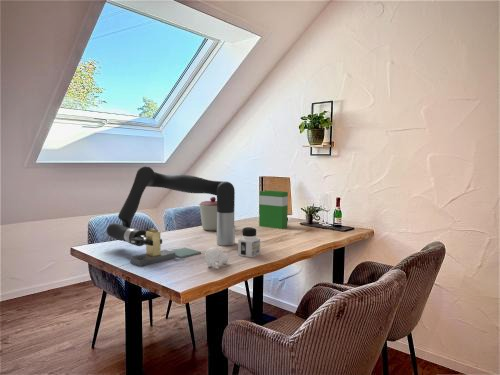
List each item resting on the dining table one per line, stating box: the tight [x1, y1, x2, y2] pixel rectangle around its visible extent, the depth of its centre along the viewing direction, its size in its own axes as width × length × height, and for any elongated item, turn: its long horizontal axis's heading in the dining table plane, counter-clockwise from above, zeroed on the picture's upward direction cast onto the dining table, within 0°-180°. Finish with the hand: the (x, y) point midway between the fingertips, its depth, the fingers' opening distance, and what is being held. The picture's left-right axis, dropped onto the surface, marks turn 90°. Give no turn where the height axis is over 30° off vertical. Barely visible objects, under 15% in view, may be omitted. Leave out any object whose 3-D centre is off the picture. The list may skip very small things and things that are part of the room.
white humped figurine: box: [204, 246, 230, 270], centre depth 153 cm, size 6×8×12 cm
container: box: [237, 226, 261, 258], centre depth 171 cm, size 8×8×13 cm
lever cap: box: [145, 227, 162, 257], centre depth 160 cm, size 4×5×14 cm
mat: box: [170, 247, 202, 259], centre depth 173 cm, size 12×12×1 cm
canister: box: [198, 196, 217, 232], centre depth 232 cm, size 18×18×21 cm
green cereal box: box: [258, 189, 289, 230], centre depth 243 cm, size 18×7×24 cm, turn 56°
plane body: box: [129, 249, 176, 267], centre depth 160 cm, size 18×8×2 cm, turn 139°
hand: (157, 242), depth 158 cm, fingers closed on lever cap, 4 cm apart
